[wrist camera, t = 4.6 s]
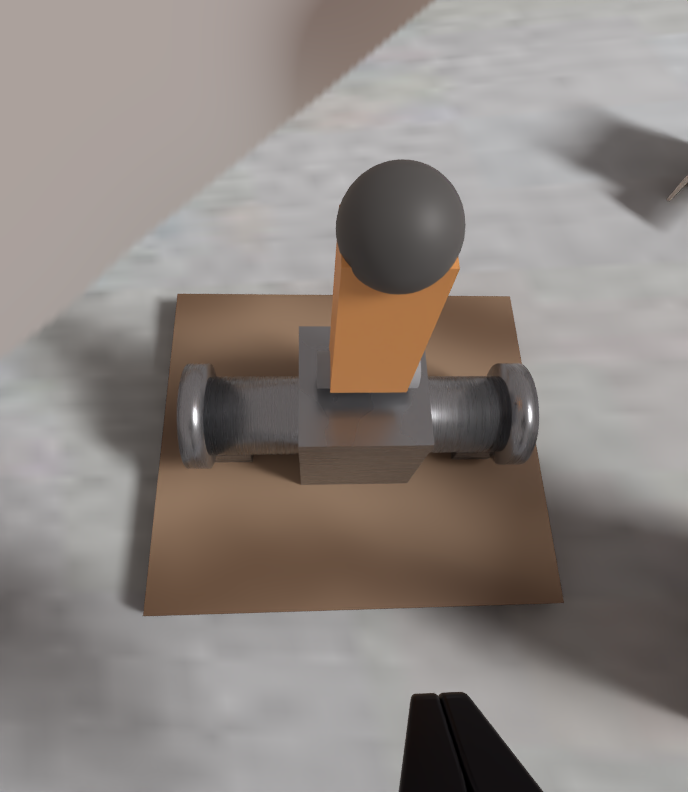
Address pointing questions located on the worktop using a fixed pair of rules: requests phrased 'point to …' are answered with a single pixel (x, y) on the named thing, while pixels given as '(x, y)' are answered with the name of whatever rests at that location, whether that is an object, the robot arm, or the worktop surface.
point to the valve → (354, 420)
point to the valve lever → (390, 276)
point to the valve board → (341, 490)
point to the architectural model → (678, 188)
